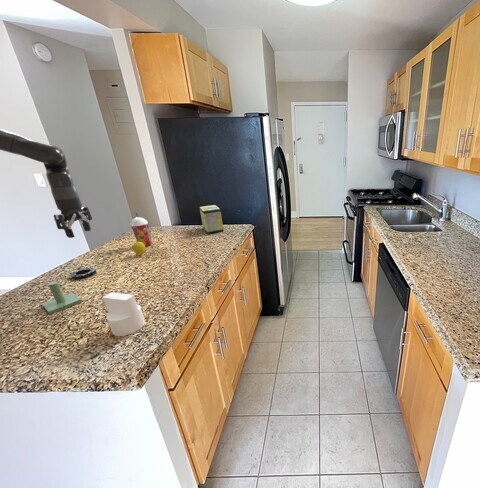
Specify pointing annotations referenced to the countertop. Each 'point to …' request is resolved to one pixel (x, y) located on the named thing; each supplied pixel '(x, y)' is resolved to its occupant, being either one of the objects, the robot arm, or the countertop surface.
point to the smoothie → (141, 230)
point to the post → (59, 299)
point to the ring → (76, 275)
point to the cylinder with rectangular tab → (123, 314)
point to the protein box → (211, 219)
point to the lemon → (139, 248)
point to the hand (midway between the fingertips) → (79, 234)
